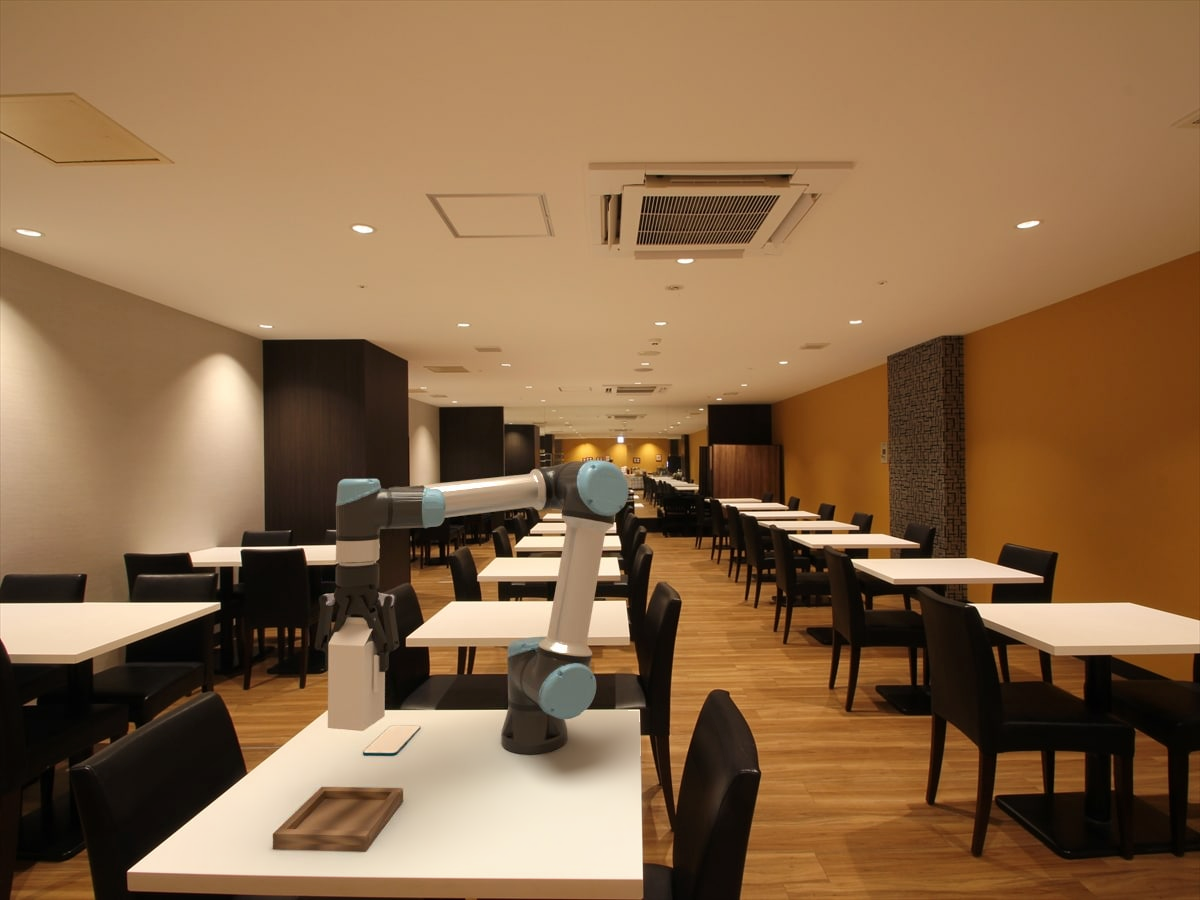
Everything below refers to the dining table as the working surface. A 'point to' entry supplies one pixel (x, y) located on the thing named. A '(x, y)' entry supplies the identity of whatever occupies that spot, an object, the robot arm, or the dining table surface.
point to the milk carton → (353, 678)
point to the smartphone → (391, 740)
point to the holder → (339, 819)
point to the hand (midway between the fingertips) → (356, 688)
